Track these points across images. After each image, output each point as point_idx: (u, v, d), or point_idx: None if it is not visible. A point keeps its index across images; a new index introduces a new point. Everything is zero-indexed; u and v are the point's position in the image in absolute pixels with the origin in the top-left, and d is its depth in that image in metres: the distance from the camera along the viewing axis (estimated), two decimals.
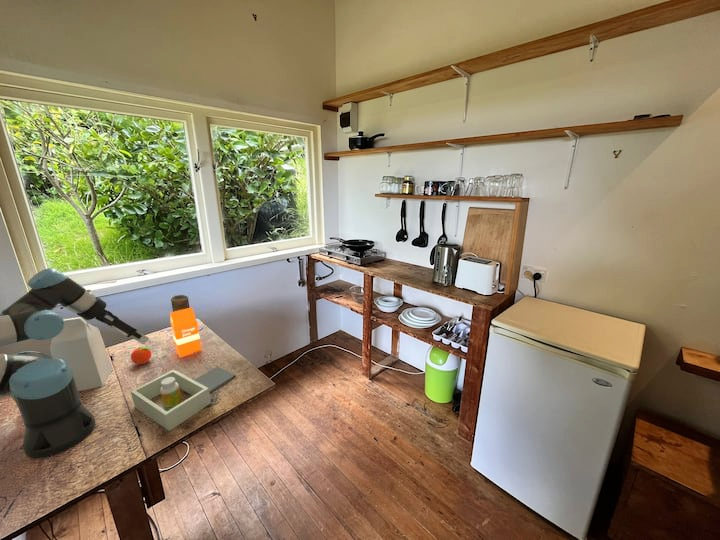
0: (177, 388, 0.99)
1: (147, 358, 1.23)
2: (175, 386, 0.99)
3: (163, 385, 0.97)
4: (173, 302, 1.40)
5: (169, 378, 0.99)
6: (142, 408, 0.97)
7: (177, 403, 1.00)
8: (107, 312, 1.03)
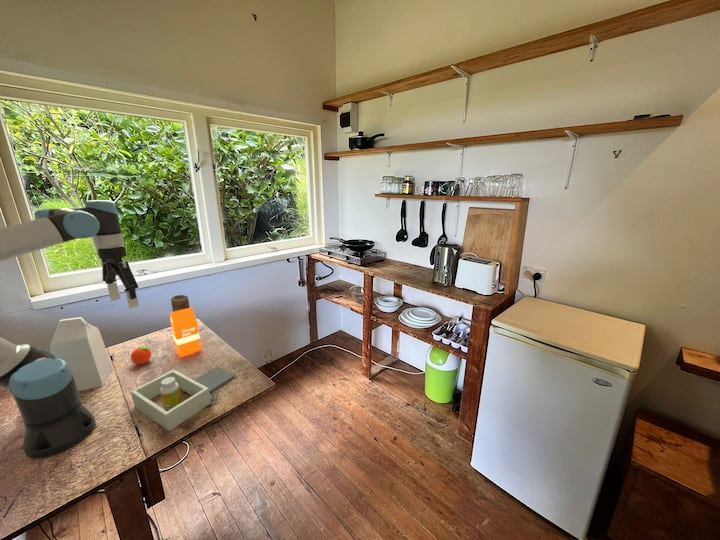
0: (177, 388, 0.99)
1: (147, 358, 1.23)
2: (175, 386, 0.99)
3: (163, 385, 0.97)
4: (173, 302, 1.40)
5: (169, 378, 0.99)
6: (142, 408, 0.97)
7: (177, 403, 1.00)
8: None
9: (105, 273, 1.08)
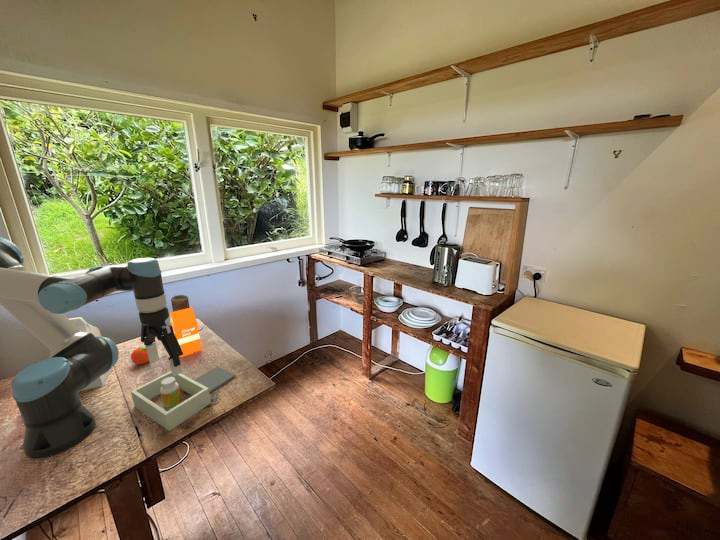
0: (177, 388, 0.99)
1: (147, 358, 1.23)
2: (175, 386, 0.99)
3: (163, 385, 0.97)
4: (173, 302, 1.40)
5: (169, 378, 0.99)
6: (142, 408, 0.97)
7: (177, 403, 1.00)
8: None
9: (144, 334, 0.97)
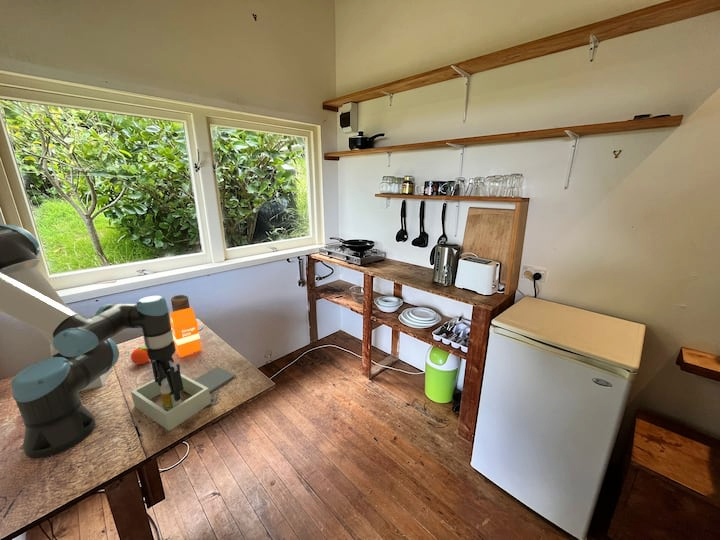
0: None
1: (147, 358, 1.23)
2: None
3: (163, 385, 0.97)
4: (173, 302, 1.40)
5: None
6: (142, 408, 0.97)
7: None
8: None
9: (156, 372, 1.00)
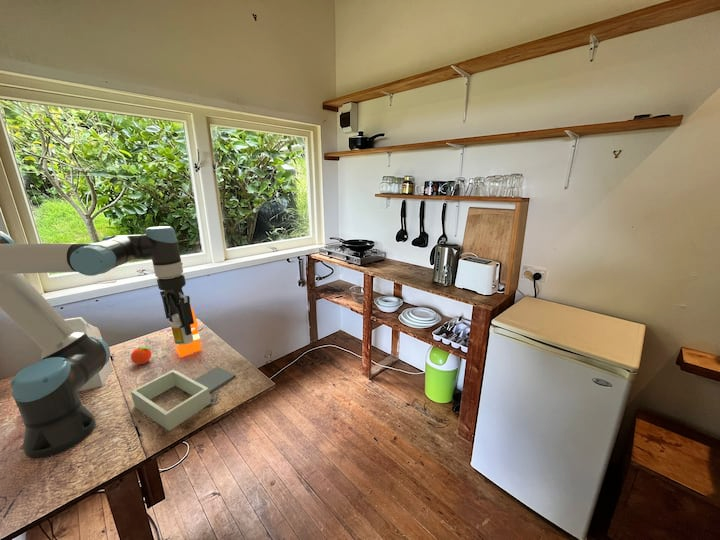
0: None
1: (147, 358, 1.23)
2: None
3: (174, 319, 0.96)
4: None
5: None
6: (142, 408, 0.97)
7: None
8: None
9: (167, 308, 1.00)
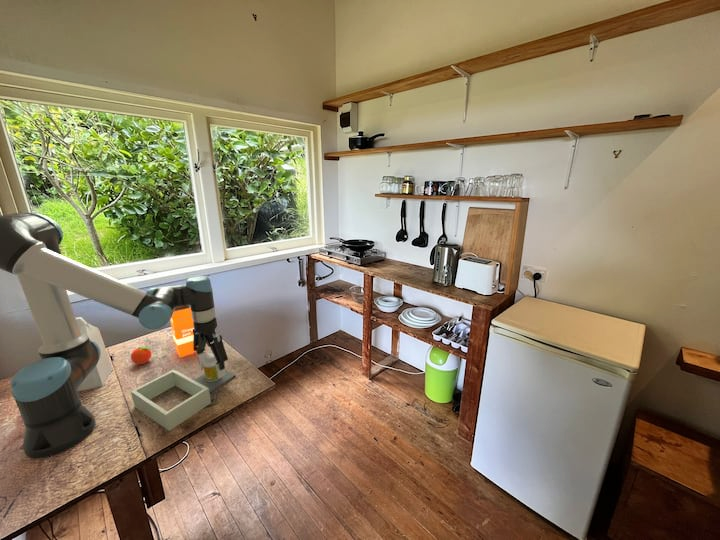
0: None
1: (147, 358, 1.23)
2: (216, 361, 1.12)
3: (206, 359, 1.10)
4: None
5: (211, 354, 1.12)
6: (142, 408, 0.97)
7: None
8: None
9: (196, 343, 1.13)
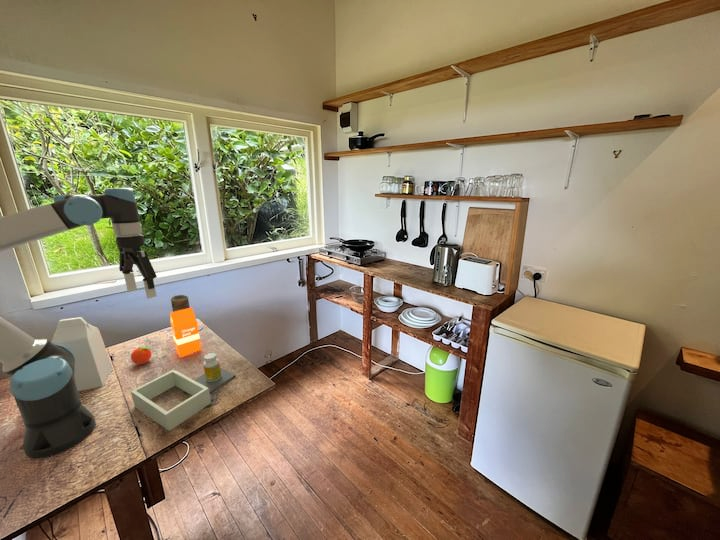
0: (218, 363, 1.12)
1: (147, 358, 1.23)
2: (216, 361, 1.12)
3: (206, 359, 1.09)
4: (173, 302, 1.40)
5: (211, 354, 1.12)
6: (142, 408, 0.97)
7: (218, 376, 1.12)
8: None
9: (122, 263, 1.06)
